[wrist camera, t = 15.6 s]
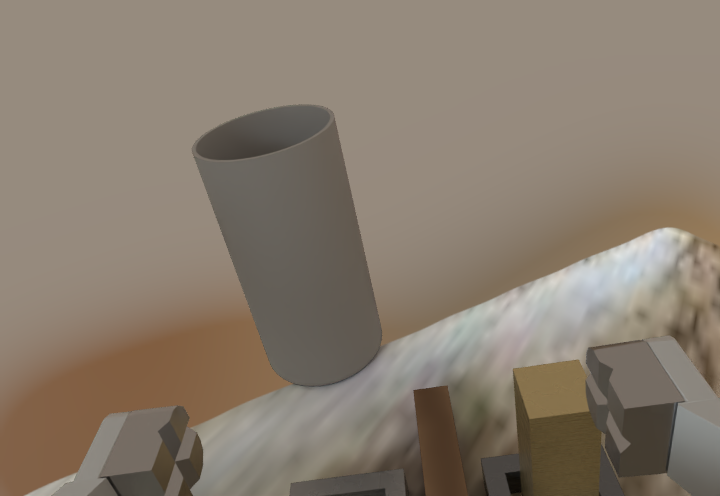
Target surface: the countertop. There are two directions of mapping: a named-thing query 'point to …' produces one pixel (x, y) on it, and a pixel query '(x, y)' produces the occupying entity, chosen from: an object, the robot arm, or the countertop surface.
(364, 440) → the countertop surface
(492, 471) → the frame
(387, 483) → the grey square frame
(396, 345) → the countertop surface
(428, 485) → the rail
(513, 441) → the countertop surface
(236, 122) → the tall grey cup
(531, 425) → the lock bar
